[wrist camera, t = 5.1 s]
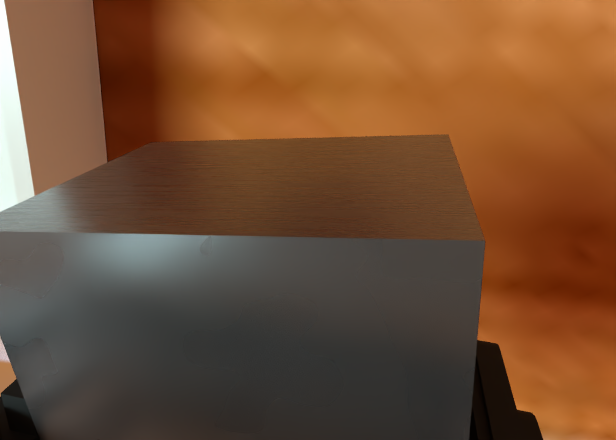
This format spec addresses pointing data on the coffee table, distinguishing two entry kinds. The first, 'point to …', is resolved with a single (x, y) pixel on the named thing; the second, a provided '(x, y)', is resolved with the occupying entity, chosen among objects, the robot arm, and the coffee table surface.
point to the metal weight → (248, 293)
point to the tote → (48, 96)
